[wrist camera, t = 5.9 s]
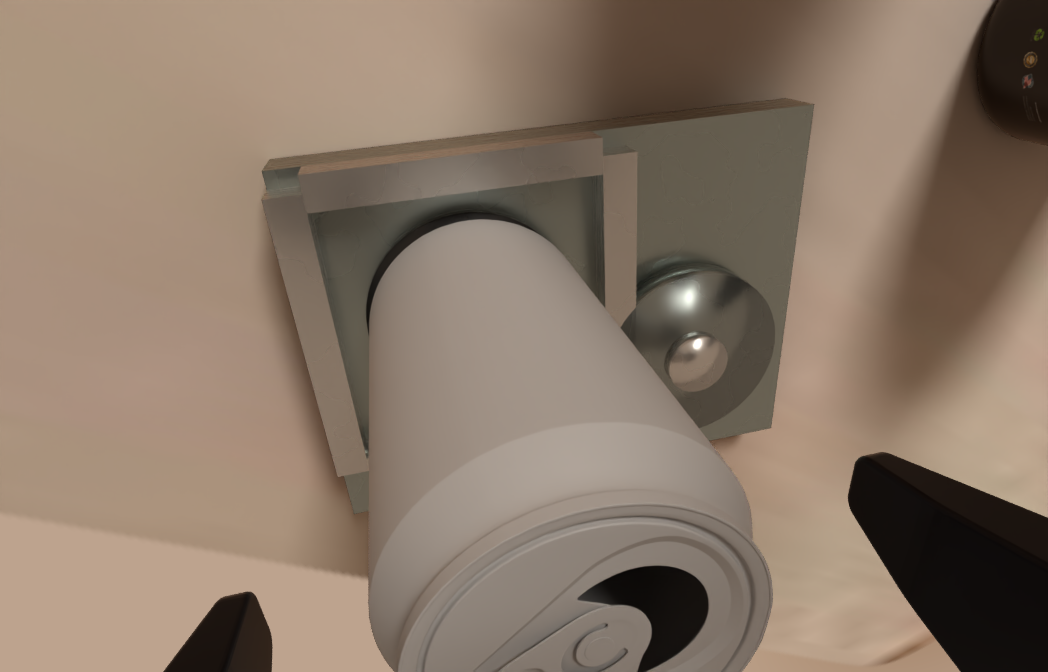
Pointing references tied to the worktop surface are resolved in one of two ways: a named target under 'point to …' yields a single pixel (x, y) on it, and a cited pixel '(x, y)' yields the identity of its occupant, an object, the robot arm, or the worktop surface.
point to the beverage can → (541, 479)
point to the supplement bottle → (1016, 69)
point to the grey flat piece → (565, 245)
